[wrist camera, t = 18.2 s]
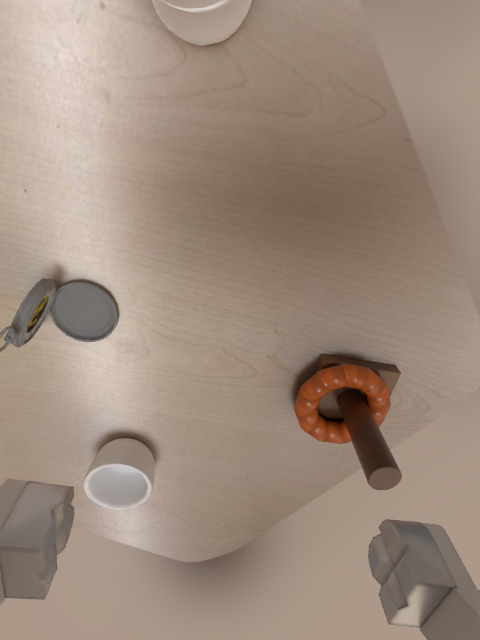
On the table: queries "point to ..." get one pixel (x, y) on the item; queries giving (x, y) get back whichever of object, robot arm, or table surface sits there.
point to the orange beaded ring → (331, 381)
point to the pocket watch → (64, 312)
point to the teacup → (120, 475)
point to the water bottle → (202, 18)
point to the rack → (362, 421)
